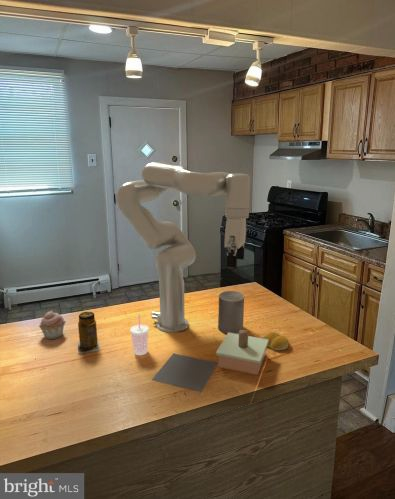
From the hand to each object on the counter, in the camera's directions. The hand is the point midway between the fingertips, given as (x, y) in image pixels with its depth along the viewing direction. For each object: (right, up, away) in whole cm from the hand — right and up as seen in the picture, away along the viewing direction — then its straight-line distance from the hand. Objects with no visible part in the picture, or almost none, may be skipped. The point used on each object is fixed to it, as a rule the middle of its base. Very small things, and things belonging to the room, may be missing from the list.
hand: (235, 262), depth 125 cm
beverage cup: (-32, -31, +2) cm, 45 cm away
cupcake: (-66, -28, +14) cm, 73 cm away
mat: (-16, -34, -9) cm, 39 cm away
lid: (+2, -27, -4) cm, 28 cm away
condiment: (-51, -30, +6) cm, 60 cm away
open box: (+2, -32, -3) cm, 32 cm away
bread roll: (+15, -30, +8) cm, 34 cm away
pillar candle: (0, -26, +19) cm, 33 cm away
